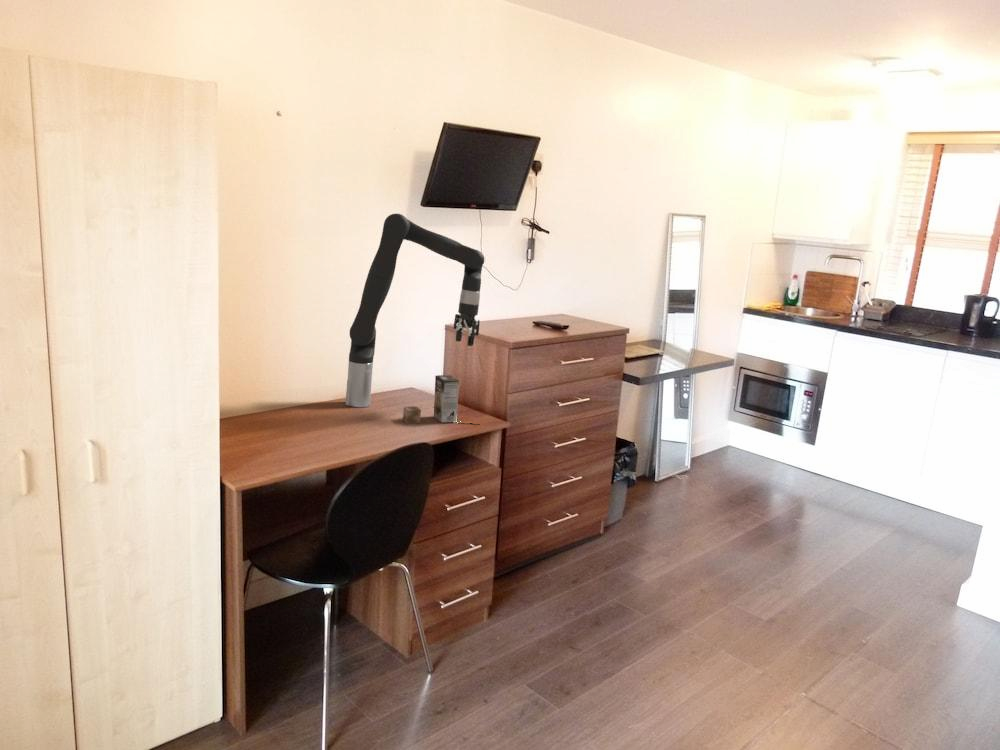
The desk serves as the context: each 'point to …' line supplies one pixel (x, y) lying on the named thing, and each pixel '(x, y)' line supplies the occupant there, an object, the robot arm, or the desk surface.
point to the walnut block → (411, 414)
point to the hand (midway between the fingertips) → (464, 343)
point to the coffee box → (446, 398)
